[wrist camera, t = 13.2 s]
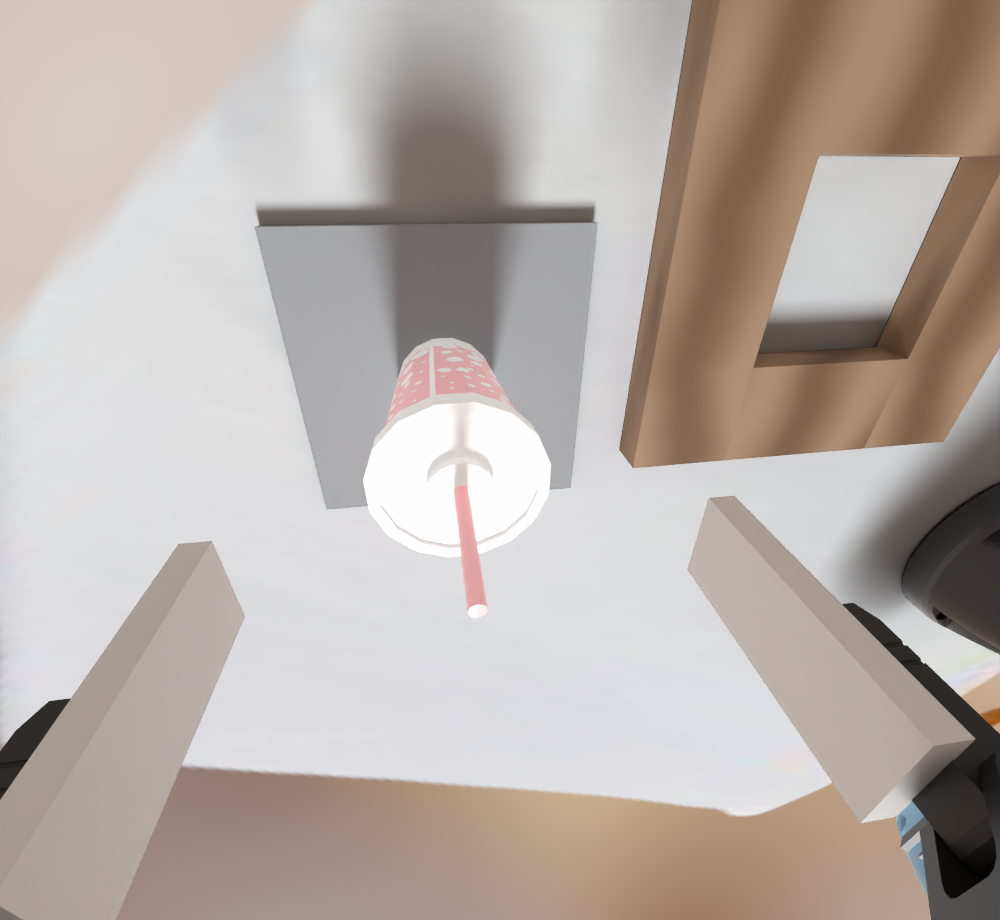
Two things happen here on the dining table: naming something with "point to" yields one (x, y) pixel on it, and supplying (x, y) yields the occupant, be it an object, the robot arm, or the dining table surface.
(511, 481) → the beverage cup
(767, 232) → the pocket holder
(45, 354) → the dining table surface
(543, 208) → the dining table surface
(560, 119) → the dining table surface
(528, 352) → the rubber mat
